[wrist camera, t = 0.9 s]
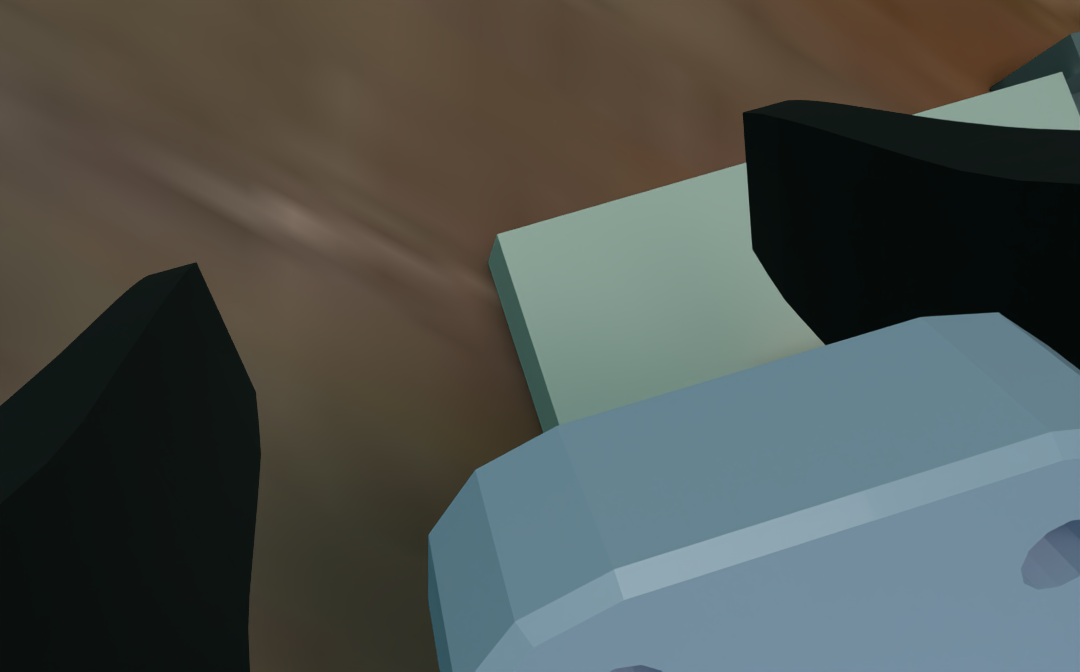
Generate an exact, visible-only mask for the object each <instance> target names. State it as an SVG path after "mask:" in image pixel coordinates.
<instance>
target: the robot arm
mask: <svg viewBox="0 0 1080 672" xmlns="http://www.w3.org/2000/svg"><path fill="white" fill-rule="evenodd" d="M743 123H744V138H745V152H746V167H747V181H748V196H749V210H750V225H751V239H752V250H753V251H754V253H755V255H756V256H757V258H758V259H759V261H760V263H761V264H762V266H763V268H764V269H765V271H766V272H767V274H768V276H769V277H770V279H771V280H772V282H773V283H774V285H775V286H776V288H777V289H778V291H779V292H780V294H781V295H782V297H783V298H784V299H785V301H786V302H787V303H788V304H789V305H790V307H791V308H792V309H793V310H794V311H795V312H796V313H797V315H798V316H799V317H800V318H801V319H802V320H803V321H804V322H805V323H806V324H807V326H808V327H809V328H810V329H811V330H812V331H813V332H814V333H815V334H816V336H817V337H818V338H819V339H820V340H821V341H822V342H823V343H824V344H825V345H826V346H822V347H819V348H816V349H812V350H809V351H806V352H802V353H799V354H796V355H792V356H789V357H786V358H782V359H779V360H776V361H772V362H769V363H766V364H762V365H759V366H756V367H752V368H749V369H745V370H742V371H739V372H735V373H732V374H729V375H725V376H722V377H719V378H715V379H712V380H709V381H705V382H702V383H699V384H695V385H692V386H689V387H685V388H682V389H679V390H675V391H672V392H669V393H665V394H662V395H659V396H655V397H652V398H649V399H645V400H642V401H639V402H635V403H632V404H629V405H625V406H622V407H619V408H615V409H612V410H609V411H605V412H602V413H599V414H595V415H592V416H589V417H585V418H582V419H578V420H575V421H572V422H568V423H565V424H562V425H558V426H556V427H554V428H552V429H550V430H548V431H547V432H545V433H543V434H541V435H539V436H537V437H535V438H534V439H532V440H530V441H528V442H526V443H524V444H522V445H521V446H519V447H517V448H515V449H513V450H511V451H509V452H508V453H506V454H504V455H502V456H500V457H498V458H496V459H495V460H493V461H491V462H489V463H487V464H485V465H483V466H482V467H480V468H478V469H476V470H475V471H474V472H473V474H472V475H471V477H470V478H469V479H468V481H467V482H466V484H465V485H464V486H463V488H462V489H461V490H460V492H459V493H458V495H457V496H456V497H455V499H454V500H453V502H452V503H451V504H450V506H449V507H448V508H447V510H446V511H445V513H444V514H443V515H442V517H441V518H440V520H439V521H438V522H437V524H436V525H435V526H434V528H433V529H432V531H431V532H430V533H429V535H428V602H429V608H430V614H431V621H432V627H433V633H434V639H435V645H436V651H437V657H438V664H439V670H440V672H1080V130H1062V129H1034V128H1019V127H1006V126H996V125H987V124H977V123H968V122H959V121H951V120H943V119H936V118H928V117H922V116H915V115H908V114H902V113H895V112H889V111H883V110H876V109H870V108H864V107H857V106H851V105H844V104H837V103H829V102H820V101H809V100H788V101H783V102H780V103H776V104H773V105H769V106H765V107H762V108H758V109H754V110H751V111H747V112H743ZM260 459H261V449H260V434H259V421H258V411H257V400H256V392H255V389H254V387H253V385H252V383H251V381H250V378H249V376H248V374H247V372H246V370H245V367H244V365H243V363H242V361H241V359H240V357H239V354H238V352H237V350H236V348H235V346H234V343H233V341H232V339H231V337H230V335H229V333H228V330H227V328H226V326H225V324H224V322H223V319H222V317H221V315H220V313H219V311H218V309H217V306H216V304H215V302H214V300H213V298H212V295H211V293H210V291H209V289H208V287H207V284H206V282H205V280H204V278H203V276H202V274H201V271H200V269H199V267H198V265H197V263H192V264H188V265H185V266H181V267H177V268H174V269H170V270H167V271H163V272H159V273H156V274H152V275H148V276H146V277H145V278H143V279H142V280H140V281H139V282H137V283H136V284H135V285H133V286H132V287H131V288H130V289H129V290H127V291H126V292H125V293H124V294H123V295H122V296H121V297H119V298H118V299H117V300H116V301H115V302H114V303H113V304H112V305H111V306H110V307H109V308H108V309H107V310H106V311H104V312H103V313H102V314H101V315H100V316H99V317H98V318H97V319H96V320H95V321H94V322H93V323H92V324H91V325H90V326H89V327H88V328H87V329H86V330H85V331H83V332H82V333H81V334H80V335H79V336H78V337H77V338H76V339H75V340H74V341H73V342H72V343H71V344H70V345H69V346H68V347H67V348H66V349H65V350H64V351H62V352H61V353H60V354H59V355H58V356H57V357H56V358H55V359H54V360H53V361H51V362H50V363H49V364H48V365H47V366H46V367H45V368H43V369H42V370H41V371H40V372H39V373H38V374H37V375H35V376H34V377H33V378H32V379H31V380H30V381H29V382H27V383H26V384H25V385H24V386H23V387H22V388H21V389H19V390H18V391H17V392H16V393H15V394H14V395H13V396H11V397H10V398H9V399H8V400H7V401H6V402H5V403H3V404H2V405H1V406H0V672H250V664H249V639H248V618H249V593H250V582H251V570H252V559H253V547H254V535H255V524H256V513H257V501H258V488H259V474H260Z"/></svg>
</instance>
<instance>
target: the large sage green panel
mask: <svg viewBox="0 0 1080 672" xmlns="http://www.w3.org/2000/svg"><path fill="white" fill-rule="evenodd" d="M914 115H915V116H922V117H928V118H936V119H943V120H951V121H959V122H968V123H977V124H987V125H996V126H1006V127H1019V128H1034V129H1062V130H1080V115H1079V113H1078V110H1077V108H1076V105H1075V103H1074V100H1073V98H1072V95H1071V93H1070V90H1069V88H1068V85H1067V83H1066V80H1065V78H1064V75H1063V73H1062V72H1059V73H1056V74H1052V75H1049V76H1045V77H1042V78H1039V79H1035V80H1032V81H1028V82H1025V83H1021V84H1018V85H1014V86H1011V87H1007V88H1004V89H1000V90H997V91H993V92H990V93H986V94H983V95H980V96H976V97H973V98H969V99H966V100H962V101H959V102H955V103H952V104H948V105H945V106H941V107H938V108H934V109H931V110H927V111H924V112H921V113H917V114H914ZM488 265H489V268H490V271H491V274H492V277H493V280H494V283H495V286H496V289H497V292H498V295H499V298H500V301H501V305H502V308H503V311H504V314H505V317H506V320H507V323H508V326H509V329H510V332H511V335H512V338H513V341H514V345H515V348H516V351H517V354H518V357H519V360H520V363H521V366H522V369H523V372H524V375H525V378H526V381H527V384H528V388H529V391H530V394H531V397H532V400H533V403H534V406H535V409H536V412H537V415H538V418H539V421H540V424H541V428H542V431H543V433H545V432H547V431H548V430H550V429H552V428H554V427H556V426H558V425H562V424H565V423H568V422H572V421H575V420H578V419H582V418H585V417H589V416H592V415H595V414H599V413H602V412H605V411H609V410H612V409H615V408H619V407H622V406H625V405H629V404H632V403H635V402H639V401H642V400H645V399H649V398H652V397H655V396H659V395H662V394H665V393H669V392H672V391H675V390H679V389H682V388H685V387H689V386H692V385H695V384H699V383H702V382H705V381H709V380H712V379H715V378H719V377H722V376H725V375H729V374H732V373H735V372H739V371H742V370H745V369H749V368H752V367H756V366H759V365H762V364H766V363H769V362H772V361H776V360H779V359H782V358H786V357H789V356H792V355H796V354H799V353H802V352H806V351H809V350H812V349H816V348H819V347H822V346H826V345H825V344H824V343H823V342H822V341H821V340H820V339H819V338H818V337H817V336H816V334H815V333H814V332H813V331H812V330H811V329H810V328H809V327H808V326H807V324H806V323H805V322H804V321H803V320H802V319H801V318H800V317H799V316H798V315H797V313H796V312H795V311H794V310H793V309H792V308H791V307H790V305H789V304H788V303H787V302H786V301H785V299H784V298H783V297H782V295H781V294H780V292H779V291H778V289H777V288H776V286H775V285H774V283H773V282H772V280H771V279H770V277H769V276H768V274H767V272H766V271H765V269H764V268H763V266H762V264H761V263H760V261H759V259H758V258H757V256H756V255H755V253H754V251H753V250H752V239H751V225H750V210H749V196H748V181H747V167H746V163H743V164H740V165H737V166H733V167H730V168H726V169H723V170H719V171H716V172H712V173H709V174H705V175H702V176H698V177H695V178H691V179H688V180H684V181H681V182H677V183H674V184H671V185H667V186H664V187H660V188H657V189H653V190H650V191H646V192H643V193H639V194H636V195H632V196H629V197H625V198H622V199H618V200H615V201H612V202H608V203H605V204H601V205H598V206H594V207H591V208H587V209H584V210H580V211H577V212H573V213H570V214H566V215H563V216H559V217H556V218H553V219H549V220H546V221H542V222H539V223H535V224H532V225H528V226H525V227H521V228H518V229H514V230H511V231H507V232H504V233H500V234H497V236H496V239H495V242H494V245H493V248H492V251H491V254H490V257H489V260H488Z"/></svg>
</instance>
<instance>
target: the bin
mask: <svg viewBox="0 0 1080 672" xmlns="http://www.w3.org/2000/svg"><path fill="white" fill-rule="evenodd" d="M1059 72H1062V73H1063V75H1064V78H1065V80H1066V83H1067V85H1068V88H1069V90H1070V93H1071V95H1072V98H1073V100H1074V103H1075V105H1076V108H1077V110H1078V113H1079V115H1080V32H1076V33H1073V34H1070V35H1068V36H1067V37H1065V38H1064V39H1062V40H1061V41H1059V42H1058V43H1056V44H1055V45H1053V46H1052V47H1050V48H1049V49H1047V50H1046V51H1044V52H1043V53H1041V54H1040V55H1038V56H1037V57H1035V58H1034V59H1032V60H1031V61H1030V62H1028V63H1027V64H1025V65H1024V66H1022V67H1021V68H1019V69H1018V70H1016V71H1015V72H1013V73H1012V74H1010V75H1009V76H1007V77H1006V78H1004V79H1003V80H1001V81H1000V82H998V83H997V84H995V85H994V86H992V87H991V88H990V89H991V92H993V91H997V90H1000V89H1004V88H1007V87H1011V86H1014V85H1018V84H1021V83H1025V82H1028V81H1032V80H1035V79H1039V78H1042V77H1045V76H1049V75H1052V74H1056V73H1059Z"/></svg>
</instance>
